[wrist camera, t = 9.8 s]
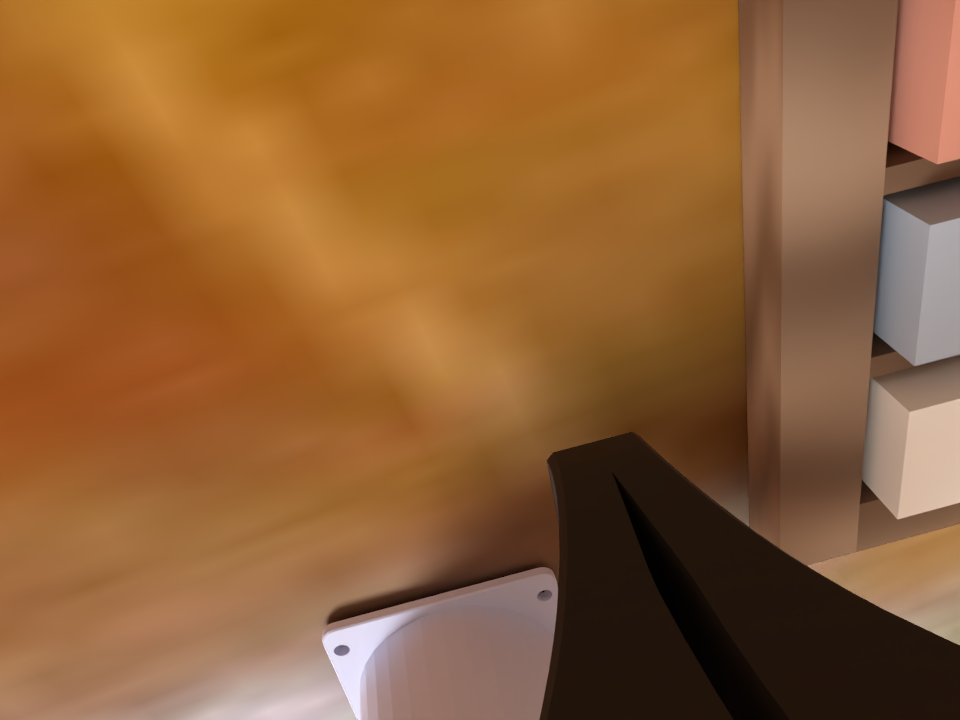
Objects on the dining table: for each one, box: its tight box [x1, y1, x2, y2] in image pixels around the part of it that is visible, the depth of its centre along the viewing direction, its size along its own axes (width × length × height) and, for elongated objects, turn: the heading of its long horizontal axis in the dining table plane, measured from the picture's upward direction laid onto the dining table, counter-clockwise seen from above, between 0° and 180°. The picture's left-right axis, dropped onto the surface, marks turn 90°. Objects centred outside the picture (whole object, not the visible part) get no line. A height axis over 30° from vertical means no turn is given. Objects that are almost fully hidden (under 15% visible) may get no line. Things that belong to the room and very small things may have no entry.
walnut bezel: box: [738, 0, 960, 565], centre depth 22 cm, size 20×10×2 cm, turn 11°
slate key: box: [873, 176, 960, 366], centre depth 22 cm, size 4×4×3 cm
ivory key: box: [862, 355, 960, 519], centre depth 24 cm, size 4×4×3 cm
